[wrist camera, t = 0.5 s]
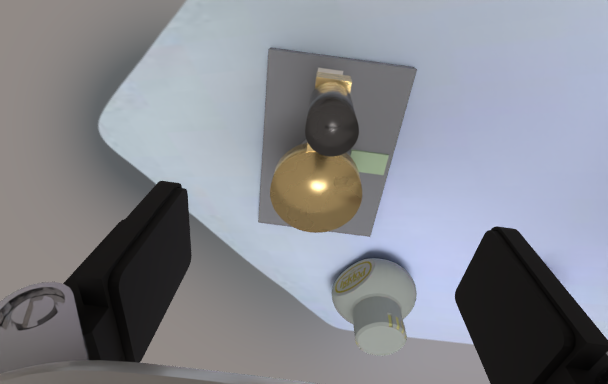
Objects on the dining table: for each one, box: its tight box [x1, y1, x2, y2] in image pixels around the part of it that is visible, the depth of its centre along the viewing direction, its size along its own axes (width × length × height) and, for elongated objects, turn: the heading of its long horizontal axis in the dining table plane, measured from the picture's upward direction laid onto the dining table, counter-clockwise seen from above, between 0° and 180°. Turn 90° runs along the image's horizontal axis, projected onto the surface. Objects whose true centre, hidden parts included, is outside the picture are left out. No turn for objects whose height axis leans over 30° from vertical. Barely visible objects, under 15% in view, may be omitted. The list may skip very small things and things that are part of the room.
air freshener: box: [332, 258, 416, 356], centre depth 42 cm, size 11×8×10 cm
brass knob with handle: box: [270, 72, 362, 233], centre depth 26 cm, size 8×14×8 cm, turn 173°
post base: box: [258, 48, 417, 237], centre depth 34 cm, size 14×20×7 cm
